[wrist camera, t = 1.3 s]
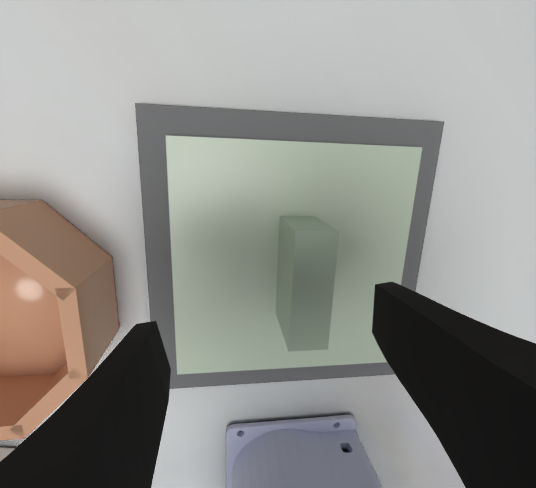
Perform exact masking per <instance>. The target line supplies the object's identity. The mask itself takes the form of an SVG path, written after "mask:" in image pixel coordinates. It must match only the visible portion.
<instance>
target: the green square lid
mask: <svg viewBox="0 0 536 488" xmlns="http://www.w3.org/2000/svg"><path fill="white" fill-rule="evenodd" d="M421 153H422V147H405V146H383V145H362V144H340V143H319V142H297V141H276V140H254V139H233V138H211V137H189V136H168V135H166V155H167V175H168V196H169V217H170V237H171V258H172V278H173V299H174V320H175V340H176V361H177V375H178V374H195V373H212V372H229V371H246V370H263V369H280V368H297V367H314V366H331V365H348V364H365V363H382V362H387V361H386V359H385V357H384V355H383V354H382V352H381V350H380V348H379V346H378V344H377V342H376V340H375V338H374V336H373V334H372V322H373V307H374V291H375V284H380V283H386V282H395V283H397V284H399V285H401V281H402V275H403V268H404V262H405V255H406V249H407V243H408V236H409V230H410V223H411V217H412V211H413V204H414V198H415V192H416V185H417V179H418V172H419V166H420V160H421Z"/></svg>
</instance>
